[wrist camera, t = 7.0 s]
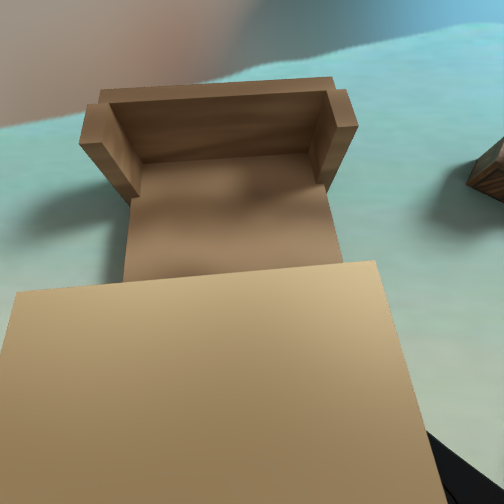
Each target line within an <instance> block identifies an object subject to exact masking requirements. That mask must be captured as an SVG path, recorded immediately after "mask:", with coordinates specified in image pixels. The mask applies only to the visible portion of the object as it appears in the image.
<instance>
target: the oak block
mask: <svg viewBox="0 0 504 504" xmlns="http://www.w3.org/2000/svg"><path fill="white" fill-rule="evenodd" d="M0 504H448V503H447V500H446V496H445V493H444V490H443V486H442V483H441V480H440V476H439V473H438V470H437V466H436V463H435V460H434V456H433V453H432V449H431V446H430V443H429V439H428V436H427V433H426V429H425V426H424V423H423V419H422V416H421V413H420V409H419V406H418V403H417V399H416V396H415V392H414V389H413V386H412V382H411V379H410V376H409V372H408V369H407V366H406V362H405V359H404V356H403V352H402V349H401V345H400V342H399V339H398V335H397V332H396V329H395V325H394V322H393V319H392V315H391V312H390V309H389V305H388V302H387V299H386V295H385V292H384V288H383V285H382V282H381V278H380V275H379V272H378V268H377V265H376V262H375V260H371V261H360V262H348V263H337V264H326V265H315V266H303V267H292V268H281V269H270V270H259V271H247V272H236V273H225V274H214V275H202V276H191V277H180V278H169V279H157V280H146V281H135V282H124V283H112V284H101V285H90V286H79V287H67V288H56V289H45V290H34V291H22V292H17V293H16V297H15V300H14V304H13V308H12V312H11V316H10V320H9V323H8V327H7V331H6V335H5V339H4V343H3V346H2V350H1V354H0Z"/></svg>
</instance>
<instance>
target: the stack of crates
mask: <svg viewBox="0 0 504 504" xmlns="http://www.w3.org/2000/svg"><path fill="white" fill-rule="evenodd" d="M466 185H467V186H469V187H472V188H474V189H476V190H478V191H480V192H482V193H484V194H486V195H488V196H490V197H492V198H494V199H496V200H498V201H500V202H502V203H504V137H503V138H502V139H501V140H499V141H498V142H497V143H496V144H495V145H494V146H492V147H491V148H490V149H489V150H488V151H487V152H485V153H484V154H483V155H482V156H481V157H480V158H478V160H477V162H476V164H475V166H474V168H473V170H472V172H471V174H470V177H469V179H468V181H467V183H466Z"/></svg>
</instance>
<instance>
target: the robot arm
mask: <svg viewBox="0 0 504 504" xmlns="http://www.w3.org/2000/svg"><path fill="white" fill-rule="evenodd" d="M426 433H427V436H428V439H429V443H430V446H431V449H432V453H433V456H434V460H435V463H436V466H437V470H438V473H439V476H440V480H441V483H442V486H443V490H444V493H445V496H446V500H447V503H448V504H504V489H502V488H501V487H499V486H498V485H497V484H495V483H494V482H493V481H491V480H490V479H489V478H487V477H486V476H485V475H483V474H482V473H480V472H479V471H478V470H476V469H475V468H474V467H472V466H471V465H470V464H468V463H467V462H466V461H464V460H463V459H462V458H460V457H459V456H458V455H457V454H455V453H454V452H453V451H451V450H450V449H449V448H447V447H446V446H445V445H444V444H442V443H441V442H440V441H439V440H437V439H436V438H435V437H434V436H433V435H431V434H430V433H429V432H428V431H426Z"/></svg>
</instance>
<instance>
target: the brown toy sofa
mask: <svg viewBox="0 0 504 504" xmlns="http://www.w3.org/2000/svg"><path fill="white" fill-rule="evenodd" d="M358 126H359V125H358V122H357V119H356V116H355V114H354V111H353V108H352V105H351V102H350V99H349V96H348V93H347V90H346V89H341V90H336V87H335V84H334V81H333V78H332V77H316V78H298V79H281V80H263V81H245V82H227V83H210V84H192V85H176V86H175V85H174V86H157V87H140V88H122V89H104V90H101V91H100V97H99V102H98V104H88V105H87V108H86V113H85V117H84V122H83V127H82V131H81V136H80V140H79V145H80V146H81V147H82V149H83V150H84V151H85V152H86V154H87V155H88V156H89V157H90V158H91V160H92V161H93V162H94V163H95V165H96V166H97V167H98V168H99V169H100V171H101V172H102V173H103V174H104V176H105V177H106V178H107V179H108V181H109V182H110V183H111V184H112V185H113V187H114V188H115V189H116V190H117V192H118V193H119V194H120V195H121V197H122V198H123V199H124V200H125V201H126V203H127V204H128V205H129V206H130V216H129V226H128V236H127V245H126V255H125V264H124V274H123V283H124V282H135V281H146V280H157V279H169V278H180V277H191V276H202V275H214V274H225V273H236V272H247V271H259V270H270V269H281V268H292V267H303V266H315V265H326V264H337V263H343V260H342V255H341V251H340V247H339V243H338V239H337V235H336V231H335V227H334V223H333V219H332V215H331V211H330V207H329V203H328V199H327V195H326V194H327V192H328V190H329V187H330V185H331V183H332V181H333V179H334V177H335V175H336V173H337V171H338V168H339V166H340V164H341V162H342V160H343V158H344V156H345V154H346V152H347V149H348V147H349V145H350V143H351V141H352V139H353V137H354V135H355V133H356V130H357V128H358Z"/></svg>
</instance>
